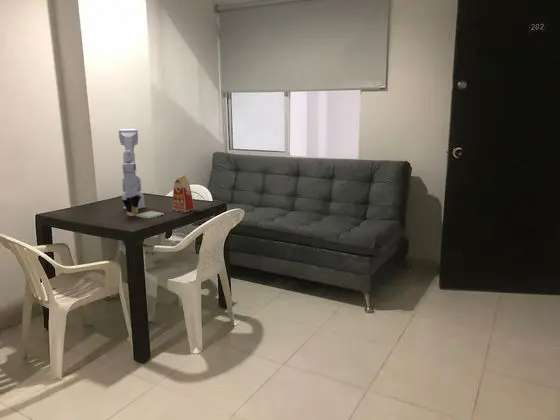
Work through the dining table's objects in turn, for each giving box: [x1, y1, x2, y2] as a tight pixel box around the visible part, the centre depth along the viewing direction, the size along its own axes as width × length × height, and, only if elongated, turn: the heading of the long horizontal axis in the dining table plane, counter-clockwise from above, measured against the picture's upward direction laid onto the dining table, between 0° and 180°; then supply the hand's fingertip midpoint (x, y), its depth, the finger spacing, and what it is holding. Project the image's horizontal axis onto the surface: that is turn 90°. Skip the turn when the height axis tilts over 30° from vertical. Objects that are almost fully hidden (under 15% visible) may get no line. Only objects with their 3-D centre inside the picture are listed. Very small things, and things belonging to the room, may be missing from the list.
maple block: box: [126, 207, 139, 217], centre depth 247 cm, size 4×4×4 cm
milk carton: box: [172, 173, 195, 213], centre depth 256 cm, size 9×9×20 cm
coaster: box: [135, 210, 165, 220], centre depth 245 cm, size 10×10×1 cm
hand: (132, 210), depth 247 cm, fingers closed on maple block, 5 cm apart
